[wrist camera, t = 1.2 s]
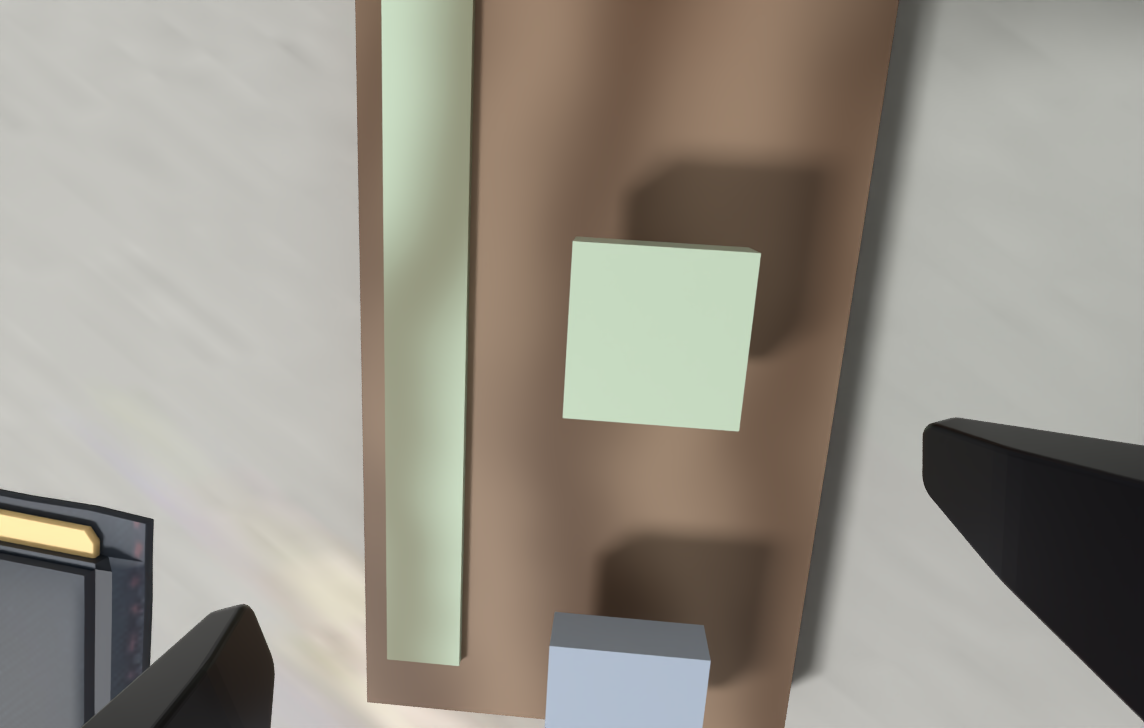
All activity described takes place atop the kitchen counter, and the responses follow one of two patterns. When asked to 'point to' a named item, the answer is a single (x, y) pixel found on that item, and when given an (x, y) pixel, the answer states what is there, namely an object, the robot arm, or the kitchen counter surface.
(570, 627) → the slate blue button
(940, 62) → the kitchen counter surface
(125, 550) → the wallet
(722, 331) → the sage green button
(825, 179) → the button panel
